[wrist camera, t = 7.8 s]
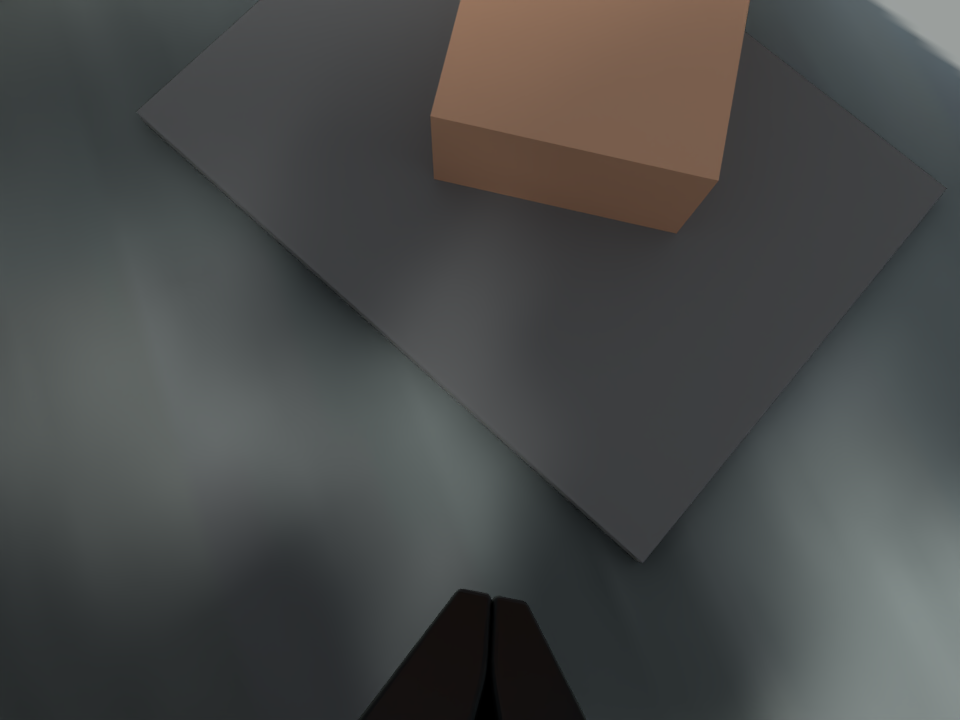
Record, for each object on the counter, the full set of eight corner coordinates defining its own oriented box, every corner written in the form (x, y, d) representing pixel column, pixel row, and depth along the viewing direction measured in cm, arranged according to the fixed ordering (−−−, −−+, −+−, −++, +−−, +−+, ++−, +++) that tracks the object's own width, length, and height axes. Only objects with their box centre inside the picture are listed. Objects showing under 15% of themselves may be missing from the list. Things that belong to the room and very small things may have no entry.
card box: (719, 179, 16) (781, -183, 17) (430, 114, 16) (522, -240, 17) (676, 234, 19) (733, -79, 20) (433, 179, 19) (512, -128, 20)
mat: (934, 196, 20) (946, 188, 19) (637, 561, 17) (642, 563, 17) (465, -170, 21) (465, -186, 21) (144, 122, 19) (136, 111, 19)
